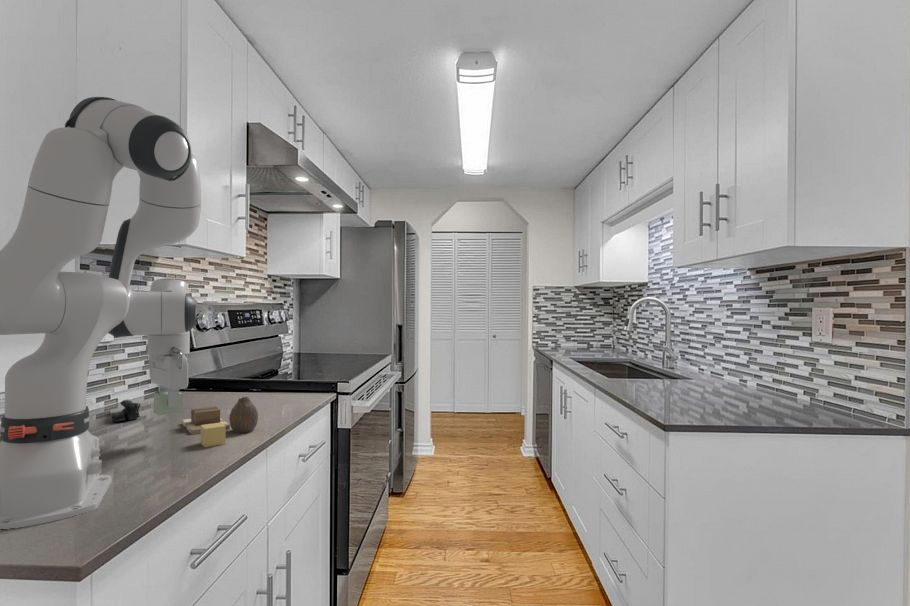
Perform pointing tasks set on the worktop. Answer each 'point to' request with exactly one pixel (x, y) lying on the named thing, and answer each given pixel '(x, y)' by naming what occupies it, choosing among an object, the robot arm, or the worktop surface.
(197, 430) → the board
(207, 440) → the ochre brick
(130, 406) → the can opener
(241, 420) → the vase
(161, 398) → the sage brick
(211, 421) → the walnut brick
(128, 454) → the worktop surface
